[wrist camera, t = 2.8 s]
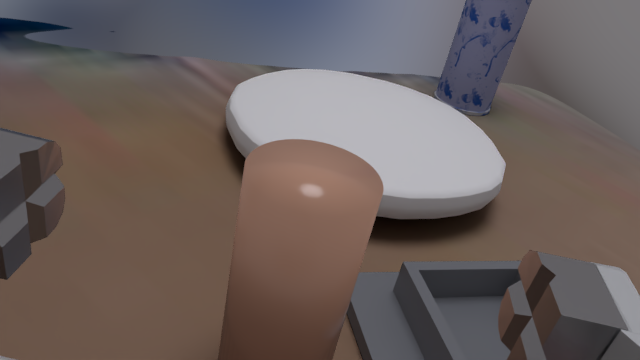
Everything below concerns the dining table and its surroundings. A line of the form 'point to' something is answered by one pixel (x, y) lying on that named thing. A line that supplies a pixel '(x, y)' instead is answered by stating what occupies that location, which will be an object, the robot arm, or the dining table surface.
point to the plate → (375, 136)
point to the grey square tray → (432, 311)
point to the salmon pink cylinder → (297, 250)
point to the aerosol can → (480, 54)
